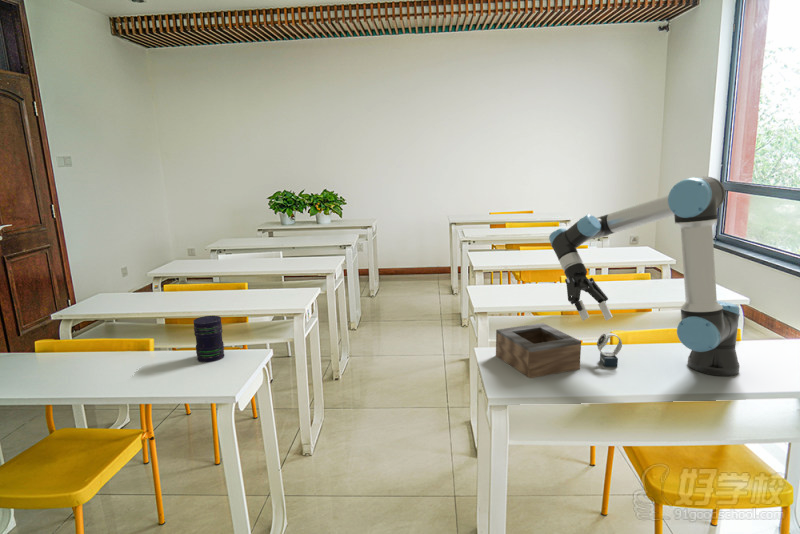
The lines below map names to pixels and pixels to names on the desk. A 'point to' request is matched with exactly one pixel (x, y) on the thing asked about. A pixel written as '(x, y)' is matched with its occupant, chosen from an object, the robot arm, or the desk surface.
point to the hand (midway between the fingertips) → (597, 318)
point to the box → (538, 349)
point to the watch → (608, 358)
